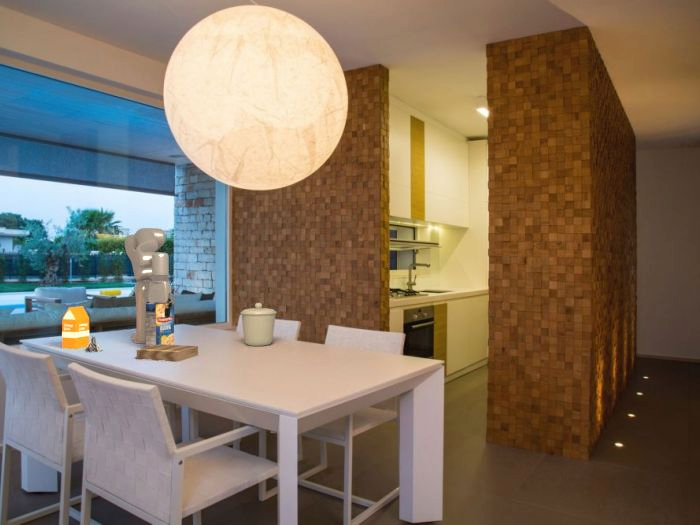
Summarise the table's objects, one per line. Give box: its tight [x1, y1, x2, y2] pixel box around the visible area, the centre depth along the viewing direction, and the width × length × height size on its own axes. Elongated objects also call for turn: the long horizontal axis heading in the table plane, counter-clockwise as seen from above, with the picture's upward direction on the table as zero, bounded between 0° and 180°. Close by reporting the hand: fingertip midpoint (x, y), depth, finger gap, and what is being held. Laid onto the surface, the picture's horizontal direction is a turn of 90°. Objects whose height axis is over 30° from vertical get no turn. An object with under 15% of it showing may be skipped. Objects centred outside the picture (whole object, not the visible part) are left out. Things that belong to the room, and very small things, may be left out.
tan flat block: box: [136, 344, 199, 362], centre depth 238 cm, size 20×16×4 cm
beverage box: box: [145, 302, 175, 348], centre depth 258 cm, size 7×11×22 cm, turn 151°
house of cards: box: [84, 335, 104, 353], centre depth 249 cm, size 9×9×8 cm
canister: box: [240, 302, 277, 347], centre depth 273 cm, size 18×18×21 cm
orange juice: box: [61, 305, 90, 350], centre depth 260 cm, size 8×9×20 cm
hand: (160, 316), depth 258 cm, fingers closed on beverage box, 7 cm apart
